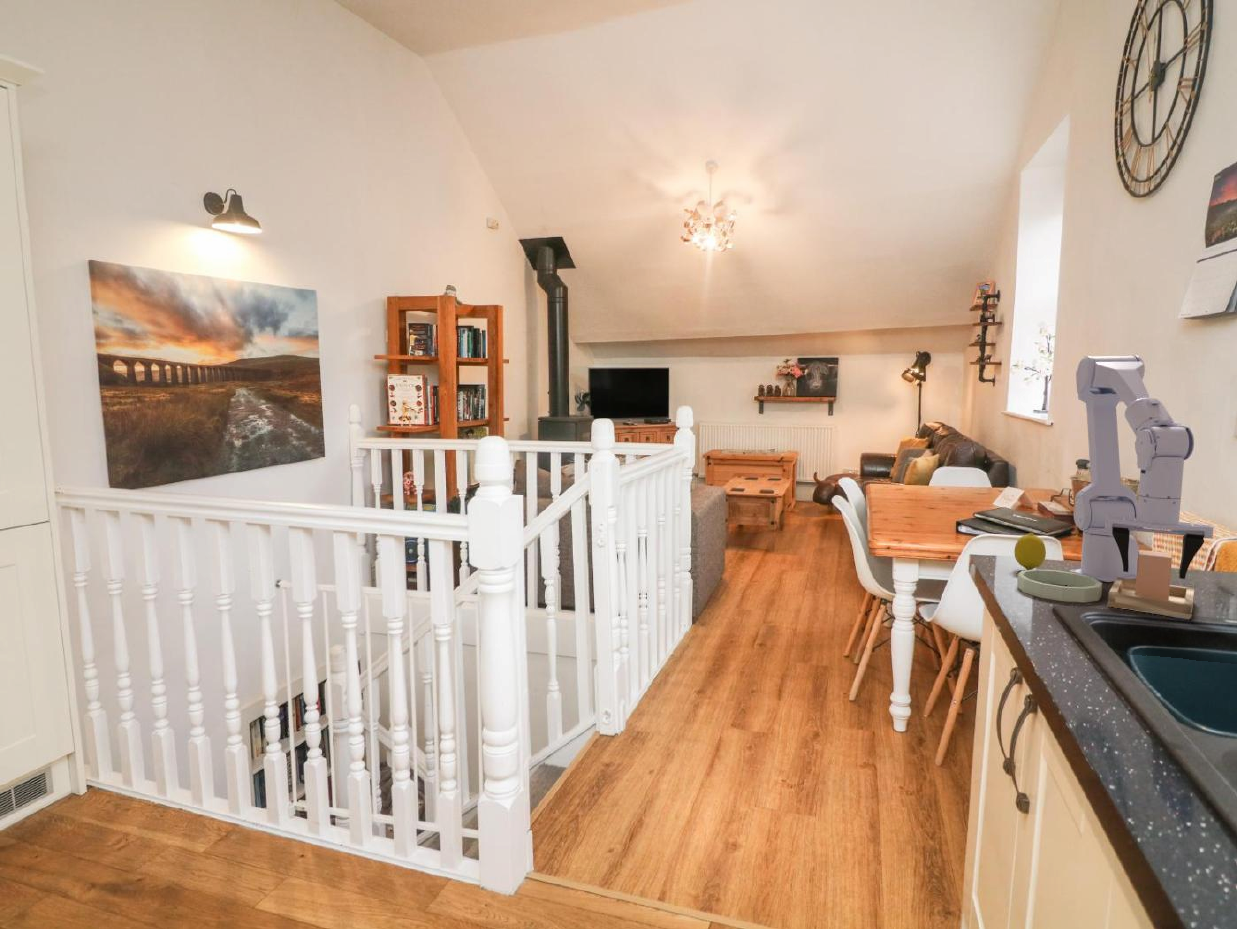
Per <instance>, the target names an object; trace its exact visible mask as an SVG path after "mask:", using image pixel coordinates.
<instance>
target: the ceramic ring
mask: <svg viewBox="0 0 1237 929" xmlns="http://www.w3.org/2000/svg"><path fill="white" fill-rule="evenodd" d="M1065 585H1067V586H1065ZM1016 588H1018V589H1019V590H1020V591H1021V592H1023V593H1025V594H1028V595H1031V596H1033V597H1034V596H1035V597H1037V598H1040V599H1047V600H1052V601H1060V602H1068V603H1069V602H1070V603H1071V602H1072V603H1090V602H1097V601H1100V600H1101V598H1102V592H1103V581H1101V580H1097V579H1095V578H1092V577H1088V576H1085V575H1081V574H1077V573H1071V572H1070V571H1064V570H1063V571H1062V570H1057V569H1056V570H1055V569H1037V568H1034V569H1032V570H1026V569H1025V570H1021V571H1020V572H1019V573H1017V581H1016Z"/></svg>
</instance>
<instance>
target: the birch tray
mask: <svg viewBox="0 0 1237 929" xmlns="http://www.w3.org/2000/svg"><path fill="white" fill-rule="evenodd" d="M1135 588H1136V579H1125V578H1118V577H1117V579H1116V581H1114V582H1113V584H1112V586H1111V588H1110V589H1109V591H1108V593H1107V608H1111V607H1114V608H1113V609H1117V608H1127V609H1133V610H1139V611H1148V612H1154V613H1159V614H1162V615H1174V616H1180V617H1187V618H1188V617H1189V618H1191V619H1192V614H1191V613H1192V612H1193V607H1194V598H1195V588H1194V587H1190V586H1189V587H1188V586H1181V585H1173V584H1170V589H1169V601H1168V600H1162V599H1155V598H1149V597H1142V596H1136V595H1135Z"/></svg>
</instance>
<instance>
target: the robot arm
mask: <svg viewBox="0 0 1237 929" xmlns="http://www.w3.org/2000/svg"><path fill="white" fill-rule="evenodd" d="M1145 368H1146V367H1145V362H1144V360H1143V359H1142V357H1141V356H1140V355H1136V354H1135V355H1134V354H1132V355H1108V356H1105V355H1104V356H1091V355H1085V356H1084V357H1082V359H1081V360H1080V361H1079V363H1078V366H1077V370H1076V371H1075V372H1076V374H1075V377H1076V378H1075V380H1076V382H1075V383H1076V393H1077V399H1078V400H1080V401H1081V402H1083V403H1085V408H1086V409H1085V410H1086V423H1087V437H1088V452H1089V453H1088V457H1089V472H1090V474H1089V475H1090V483H1089V484H1088V485H1086V486H1085V487H1083V488H1082V489H1080V490H1079V491H1077V493H1076V494H1075V502H1074V508H1073V521H1074V524H1075V526H1077V528H1078V529H1079V530H1081V531H1082V543H1081V556H1080V557H1081V558H1080V559H1081V560H1080V568H1078V569H1070V570H1069V572H1071V573H1077V574H1081V575H1085V576H1088V577H1092V578H1095V579H1096V580H1098V581H1100V582H1106V583H1112V582H1113V583H1114V582H1115V581H1116V579H1117V577H1118V578H1125V579H1132V580H1136V575H1137V562H1138V550H1139V544H1138V540H1137V539H1136V537H1134V535H1132V532H1144V533H1155V534H1164V535H1173V536H1174V535H1176V536H1182V546H1181V547H1182V549H1181V559H1180V564H1179V570H1178V577H1179V580H1180V579H1182V580H1186V575H1187V573H1188V570H1189V567H1190V565H1191V563H1192V561H1193V560H1194V558H1195V556H1196V554H1198V552H1199V550H1200V549H1201V548H1202V547H1203V545H1204V544H1205V539H1209V540H1210V539H1212V540H1213V538H1214V526H1213V525H1209V524H1207V525H1206V524H1200V523H1199V524H1198V523H1191V522H1183V521H1180V515H1181V512H1180V511H1181V502H1182V501H1181V500H1182V489H1183V478H1184V469H1185V468H1184V465H1185V461H1186V460H1188V459H1189V458H1190V457H1191V455H1193V451H1194V448H1195V447H1194V446H1195V438H1194V434H1193V432H1192V430H1191V428H1190V426H1187V425H1181V423H1176V422H1175V421H1174V419H1173V418H1172V416H1171V415H1170V413H1169V411H1168V410H1167V409H1166V407H1165V406H1164V404H1163V402H1161V400H1159V399H1157V398H1155V397H1154V398H1153V397H1150V394H1149V392H1148V390H1147V388H1146V386H1145V384H1144V381H1143V379H1144V377H1145V372H1146V369H1145ZM1122 402H1123V403H1124V405H1125V406H1126V408H1125V410H1124V418H1125V420H1126V421H1127V423H1128V425H1129V426H1130V428H1131V430H1132V432H1133V434H1134V435H1135V442H1134V448H1135V454H1136V458H1137V463H1136V465H1137V468H1138V469H1140V472H1139V473H1140V475H1139V486H1138V497H1137V494H1136V493H1135V491H1133V490H1132V489H1130V488H1129V487H1127V486H1126V485H1124V484H1123V483H1122V479H1121V478H1122V477H1121V462H1120V447H1119V434H1118V420H1117V405H1118V404H1119V403H1122ZM1137 498H1138V499H1137Z"/></svg>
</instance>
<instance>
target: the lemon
mask: <svg viewBox="0 0 1237 929" xmlns="http://www.w3.org/2000/svg"><path fill="white" fill-rule="evenodd" d="M1045 545H1046V544H1045V543H1044V540H1043V539H1042V538H1041V537H1039V536H1037V535H1036V534H1034V533H1033V532H1029V533H1027V534H1025V535H1022V536H1021V537H1019V538H1018V540H1017V541H1016V543H1015V546H1014V557H1015V560H1016V562H1017V563H1018V565H1020V566H1021V567H1023V568H1024V569H1025V570H1034V569H1037V568H1039V567H1040V566H1042V565H1043V563H1044V561H1045V560H1046V554H1047V551H1046V550H1047V549H1046V546H1045Z"/></svg>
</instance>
